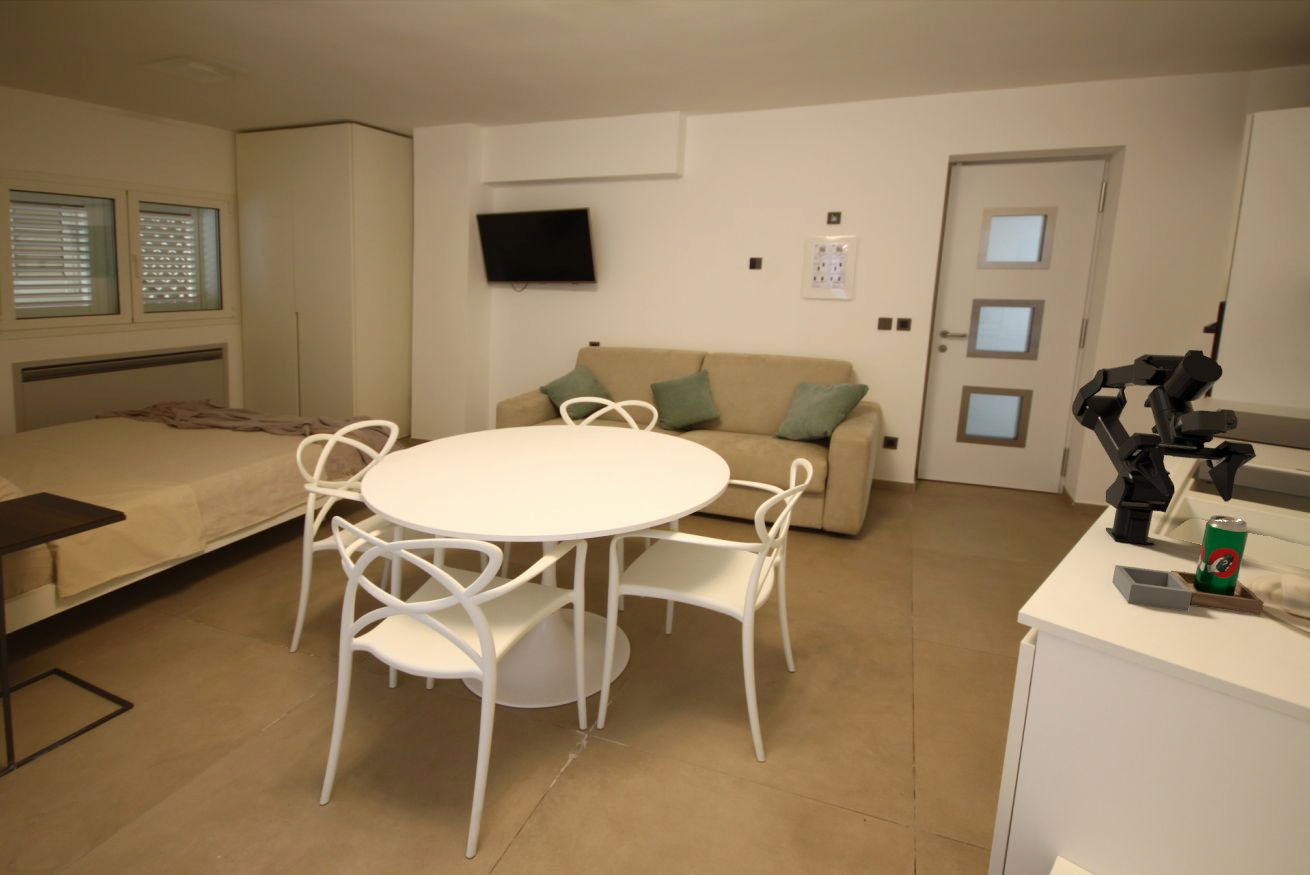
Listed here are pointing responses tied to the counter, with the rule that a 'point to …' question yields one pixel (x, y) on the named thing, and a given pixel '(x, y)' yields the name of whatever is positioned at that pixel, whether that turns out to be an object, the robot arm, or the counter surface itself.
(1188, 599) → the box
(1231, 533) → the soda can
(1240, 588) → the walnut tray
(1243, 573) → the counter surface
